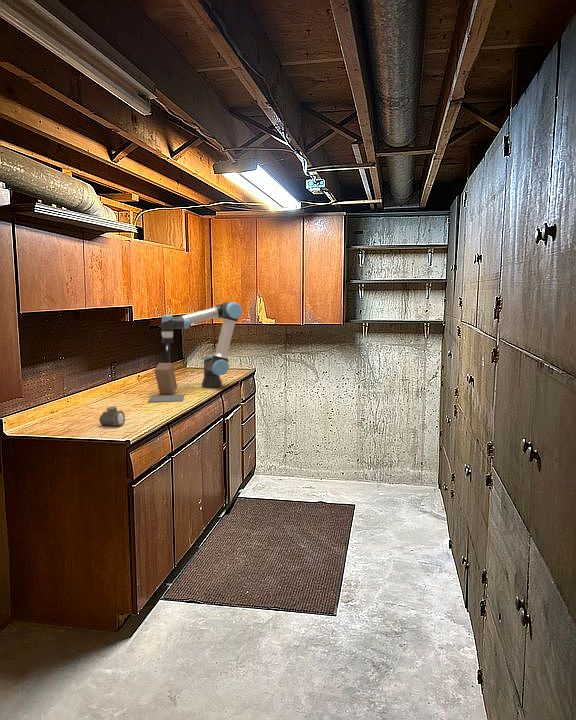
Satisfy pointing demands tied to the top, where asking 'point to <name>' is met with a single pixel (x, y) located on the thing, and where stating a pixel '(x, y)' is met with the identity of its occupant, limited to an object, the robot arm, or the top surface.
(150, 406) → the top surface
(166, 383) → the block
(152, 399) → the mat
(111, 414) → the pipe fitting
